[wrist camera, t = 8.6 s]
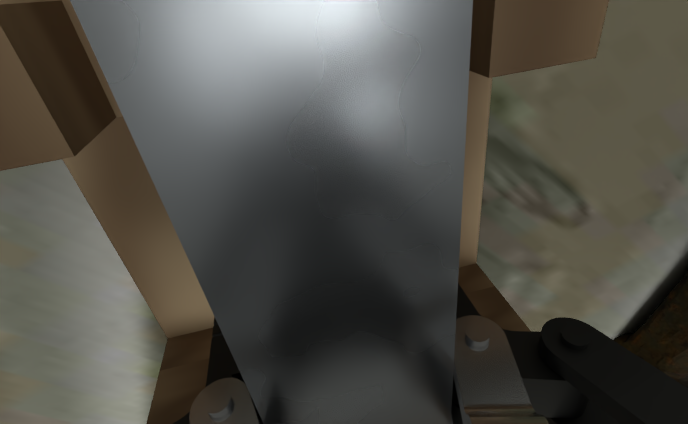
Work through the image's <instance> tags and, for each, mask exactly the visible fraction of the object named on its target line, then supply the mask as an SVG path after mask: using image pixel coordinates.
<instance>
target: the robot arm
mask: <svg viewBox="0 0 688 424" xmlns="http://www.w3.org/2000/svg"><path fill="white" fill-rule="evenodd" d="M212 337H213V338H212V340H211V348H210V356H209V364H208V372H207V380H206V386H205V388H204V389H203V390H202V391H201V392H200V393H199V395H198V396H197V397H196V399H195V400H194V402H193V404H192V406H191V409H190V412H189V413H187V414H186V415H185V416H184V417H182V418H181V419H179V420H178V421H176V422H174V423H173V424H264V423H263V421H262V419H261V417H260V415H259V413H258V410H257V408H256V406H255V404H254V402H253V399H252V397H251V395H250V393H249V391H248V388H247V386H246V384H245V382H244V380H243V378H242V375H241V373H240V371H239V369H238V367H237V364H236V362H235V360H234V358H233V356H232V354H231V351H230V349H229V347H228V345H227V343H226V340H225V338H224V336H223V334H222V332H221V329H220V327H219V325H218V323H217V321H216V319H215V316H214V326H213V332H212ZM451 424H688V388H687V387H685V386H683V385H682V384H680V383H679V382H677V381H676V380H674V379H673V378H671V377H669V376H668V375H666V374H665V373H663V372H662V371H660V370H659V369H657V368H655V367H654V366H652V365H651V364H649V363H648V362H646V361H645V360H643V359H641V358H640V357H638V356H637V355H635V354H634V353H632V352H631V351H629V350H627V349H626V348H624V347H623V346H621V345H620V344H618V343H617V342H615V341H614V340H612V339H610V338H609V337H607V336H606V335H604V334H603V333H601V332H600V331H598V330H596V329H595V328H593V327H592V326H590V325H588V324H586V323H584V322H582V321H579V320H576V319H572V318H565V317H564V318H554V319H551V320H549V321H548V322H546V323H545V324H544V326H543V327H542V330H541V332H529V331H510V330H505V329H502V328H501V327H500V326H499V325H498V324H496V323H495V322H494V321H492V320H490V319H488V318H485V317H482V316H481V315H480V314H479V313H478V311H477V310H476V308H475V307H474V305H473V304H472V302H471V301H470V299H469V298H468V297H467V295H466V294H465V292H464V291H463V289H462V288H461V286H460V285H459V283H458V293H457V312H456V331H455V350H454V369H453V388H452V407H451Z"/></svg>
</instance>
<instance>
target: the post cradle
mask: <svg viewBox="0 0 688 424" xmlns="http://www.w3.org/2000/svg"><path fill="white" fill-rule="evenodd" d="M608 2H609V0H473V9H472V28H471V47H470V66H469V85H468V104H467V123H466V142H465V161H464V180H463V199H462V218H461V237H460V256H459V275H458V283H459V285H460V286H461V288H462V289H463V291H464V292H465V294H466V295H467V297H468V298H469V299H470V301H471V302H472V304H473V305H474V307H475V308H476V310H477V311H478V313H479V314H480V315H481V316H482V317H485V318H488V319H490V320H492V321H494V322H495V323H496V324H498V325H499V326H500V327H501V328H502V329H505V330H510V331H529V332H531V331H530V330H529V328H528V327H527V326H526V325H525V323H524V322H523V321H522V320H521V318H520V317H519V316H518V315H517V313H516V312H515V311H514V310H513V308H512V307H511V306H510V305H509V303H508V302H507V301H506V300H505V298H504V297H503V296H502V295H501V293H500V292H499V291H498V290H497V288H496V287H495V286H494V285H493V283H492V282H491V281H490V280H489V278H488V277H487V276H486V275H485V273H484V272H483V271H482V270H481V268H480V267H479V266H478V265H477V263H476V262H477V250H478V239H479V227H480V215H481V204H482V192H483V180H484V169H485V157H486V145H487V134H488V122H489V111H490V99H491V87H492V77H497V76H503V75H508V74H513V73H518V72H524V71H529V70H534V69H540V68H545V67H550V66H555V65H561V64H566V63H571V62H577V61H582V60H587V59H592V58H596V55H597V51H598V46H599V42H600V38H601V33H602V29H603V24H604V20H605V15H606V11H607V7H608ZM59 159H63V161H64V163H65V164H66V166H67V168H68V169H69V171H70V173H71V175H72V176H73V178H74V180H75V181H76V183H77V185H78V186H79V188H80V190H81V192H82V193H83V195H84V197H85V198H86V200H87V202H88V203H89V205H90V207H91V209H92V210H93V212H94V214H95V215H96V217H97V219H98V221H99V222H100V224H101V226H102V227H103V229H104V231H105V232H106V234H107V236H108V238H109V239H110V241H111V243H112V244H113V246H114V248H115V249H116V251H117V253H118V255H119V256H120V258H121V260H122V261H123V263H124V265H125V266H126V268H127V270H128V272H129V273H130V275H131V277H132V278H133V280H134V282H135V284H136V285H137V287H138V289H139V290H140V292H141V294H142V295H143V297H144V299H145V301H146V302H147V304H148V306H149V307H150V309H151V311H152V312H153V314H154V316H155V318H156V319H157V321H158V323H159V324H160V326H161V328H162V329H163V331H164V333H165V335H166V336H167V338H168V340H167V344H166V348H165V352H164V356H163V360H162V364H161V368H160V372H159V376H158V380H157V384H156V388H155V392H154V396H153V400H152V404H151V408H150V412H149V416H148V420H147V424H173V423H174V422H176V421H178V420H179V419H181V418H182V417H184V416H185V415H186V414H187V413H189V412H190V409H191V406H192V404H193V402H194V400H195V399H196V397H197V396H198V395H199V393H200V392H201V391H202V390H203V389H204V388H205V386H206V380H207V372H208V364H209V356H210V348H211V340H212V338H213V337H212V332H213V326H214V314H213V312H212V310H211V308H210V305H209V303H208V301H207V299H206V297H205V294H204V292H203V290H202V288H201V286H200V284H199V281H198V279H197V277H196V275H195V273H194V270H193V268H192V266H191V264H190V262H189V260H188V257H187V255H186V253H185V251H184V249H183V246H182V244H181V242H180V240H179V238H178V235H177V233H176V231H175V229H174V227H173V225H172V222H171V220H170V218H169V216H168V214H167V211H166V209H165V207H164V205H163V203H162V200H161V198H160V196H159V194H158V192H157V190H156V187H155V185H154V183H153V181H152V179H151V176H150V174H149V172H148V170H147V168H146V165H145V163H144V161H143V159H142V157H141V155H140V152H139V150H138V148H137V146H136V144H135V141H134V139H133V137H132V135H131V133H130V131H129V128H128V126H127V124H126V122H125V120H124V117H123V115H122V113H121V111H120V109H119V106H118V104H117V102H116V100H115V98H114V96H113V93H112V91H111V89H110V87H109V85H108V82H107V80H106V78H105V76H104V74H103V71H102V69H101V67H100V65H99V63H98V61H97V58H96V56H95V54H94V52H93V50H92V47H91V45H90V43H89V41H88V39H87V37H86V34H85V32H84V30H83V28H82V26H81V23H80V21H79V19H78V17H77V15H76V12H75V10H74V8H73V6H72V4H71V2H70V0H0V171H1V170H7V169H12V168H17V167H22V166H28V165H33V164H38V163H44V162H49V161H54V160H59Z"/></svg>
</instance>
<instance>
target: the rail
mask: <svg viewBox="0 0 688 424" xmlns="http://www.w3.org/2000/svg"><path fill="white" fill-rule="evenodd" d="M70 2H71V4H72V6H73V8H74V10H75V12H76V15H77V17H78V19H79V21H80V23H81V26H82V28H83V30H84V32H85V34H86V37H87V39H88V41H89V43H90V45H91V47H92V50H93V52H94V54H95V56H96V58H97V61H98V63H99V65H100V67H101V69H102V71H103V74H104V76H105V78H106V80H107V82H108V85H109V87H110V89H111V91H112V93H113V96H114V98H115V100H116V102H117V104H118V106H119V109H120V111H121V113H122V115H123V117H124V120H125V122H126V124H127V126H128V128H129V131H130V133H131V135H132V137H133V139H134V141H135V144H136V146H137V148H138V150H139V152H140V155H141V157H142V159H143V161H144V163H145V165H146V168H147V170H148V172H149V174H150V176H151V179H152V181H153V183H154V185H155V187H156V190H157V192H158V194H159V196H160V198H161V200H162V203H163V205H164V207H165V209H166V211H167V214H168V216H169V218H170V220H171V222H172V225H173V227H174V229H175V231H176V233H177V235H178V238H179V240H180V242H181V244H182V246H183V249H184V251H185V253H186V255H187V257H188V260H189V262H190V264H191V266H192V268H193V270H194V273H195V275H196V277H197V279H198V281H199V284H200V286H201V288H202V290H203V292H204V294H205V297H206V299H207V301H208V303H209V305H210V308H211V310H212V312H213V314H214V316H215V319H216V321H217V323H218V325H219V327H220V329H221V332H222V334H223V336H224V338H225V340H226V343H227V345H228V347H229V349H230V351H231V354H232V356H233V358H234V360H235V362H236V364H237V367H238V369H239V371H240V373H241V375H242V378H243V380H244V382H245V384H246V386H247V388H248V391H249V393H250V395H251V397H252V399H253V402H254V404H255V406H256V408H257V410H258V413H259V415H260V417H261V419H262V421H263V423H264V424H451V407H452V388H453V369H454V350H455V331H456V312H457V293H458V275H459V256H460V237H461V218H462V199H463V180H464V161H465V142H466V123H467V104H468V85H469V66H470V47H471V28H472V9H473V0H70Z"/></svg>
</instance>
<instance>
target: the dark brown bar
mask: <svg viewBox="0 0 688 424" xmlns="http://www.w3.org/2000/svg"><path fill="white" fill-rule="evenodd" d="M614 341H615V342H617V343H618V344H620V345H621V346H623V347H624V348H626V349H627V350H629V351H631V352H632V353H634V354H635V355H637V356H638V357H640V358H641V359H643V360H645V361H646V362H648V363H649V364H651V365H652V366H654V367H655V368H657V369H659V370H660V371H662V372H663V373H665V374H666V375H668V376H669V377H671V378H673V379H674V380H676V381H677V382H679V383H680V384H682V385H683V386H685V387H687V388H688V271H687V273H686V275H685V276H684V277H683V278H682V280H681V281H679V283H678V284H677V285H676V286H675V287H674V288H673V289H672V290H671V291H670V293H669V294H668V296H667V297H666V298H665V300H664V301H663V302H662V303H661V304H660V306H659V307H658V308H657V309H656V310H655V312H654V313H653V314H652V315H651V316H650V318H649V319H648V320H647V322H646V323H645V324H644V325H643V326H641V327H640V328H639V329H638V330H637V331H636V332H635V333H633V334H626V335H622V336H619V337H618V338H616V339H614Z"/></svg>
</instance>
